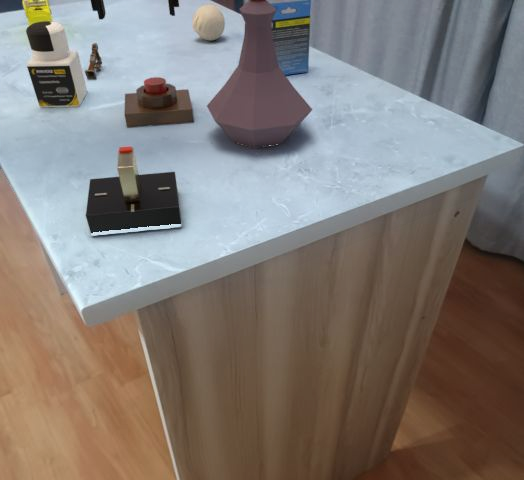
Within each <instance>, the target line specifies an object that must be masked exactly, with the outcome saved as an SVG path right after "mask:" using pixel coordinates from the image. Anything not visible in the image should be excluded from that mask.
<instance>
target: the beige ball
mask: <svg viewBox="0 0 524 480" xmlns="http://www.w3.org/2000/svg"><path fill="white" fill-rule="evenodd" d="M191 24H192V29H193V31H194V32H195V33H196V34H197V35H198V36H199V37H200V38H201V39H203V40H204V41H205V40H206V41H215V40H218V39H219V38H220V37H221V36H222V35H223V33H224V31H225V27H226V22H225V16H224V14H223V12H222V10H221V9H220V8H219V7H218V6H215V5H213V4H204V5H201V6H200V7H199V8H198V9H197V10H196V12H195V13H194V14H193V17H192V22H191Z"/></svg>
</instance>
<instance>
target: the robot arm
mask: <svg viewBox="0 0 524 480" xmlns="http://www.w3.org/2000/svg"><path fill="white" fill-rule="evenodd" d="M167 3H168V12H169V16H171V17H174V16H176V11H175V8H179V7H180V0H167ZM90 5H91V9H92V12H97V16H98V20H104V19H105V18H106V15H107V14H106V8H105V2H104V0H90Z"/></svg>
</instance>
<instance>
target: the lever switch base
mask: <svg viewBox="0 0 524 480" xmlns="http://www.w3.org/2000/svg"><path fill="white" fill-rule="evenodd" d="M176 175H177V174H176V171H169V172H168V171H166V172H155V173H143V174H139V179H140V201H137V202H126V203H125V201H124V196H123V192H122V187H121V183H120V178H119V176H110V177H99V178H89V185H88V193H87V194H88V195H87V202H86V211H85V219H86V221H87V222H86V223H87V225H88V229H89V232H90V234H91V233H93V232H99V231H100V232H102V231H109V230H121V229H130V228H138V227H147V226H148V227H149V226H160V225H169V224H170V225H171V224H181V223H182V215H181V206H180V199H179V191H178V190H179V189H178V183H177V176H176ZM179 206H180V207H179Z"/></svg>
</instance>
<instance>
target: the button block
mask: <svg viewBox="0 0 524 480" xmlns="http://www.w3.org/2000/svg"><path fill="white" fill-rule="evenodd" d="M166 86H167V92H166V93H163V94H157V95H151V94H146V93H145V87H144V84H143V85H141V86H139V87H138V88H137V89H135V90H136V91H135V92H131V93H124V119H125V125H126V128H136V127H137V128H138V126H139V127H149V126H148V125H152V126H163V125H175V124H190V123H194V122H195V121H194V111H193V105H192V99H191V95H190V91H189V89H187V88H186V89H177V87H176V86H175V85H174V84H171V83H166Z"/></svg>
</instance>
